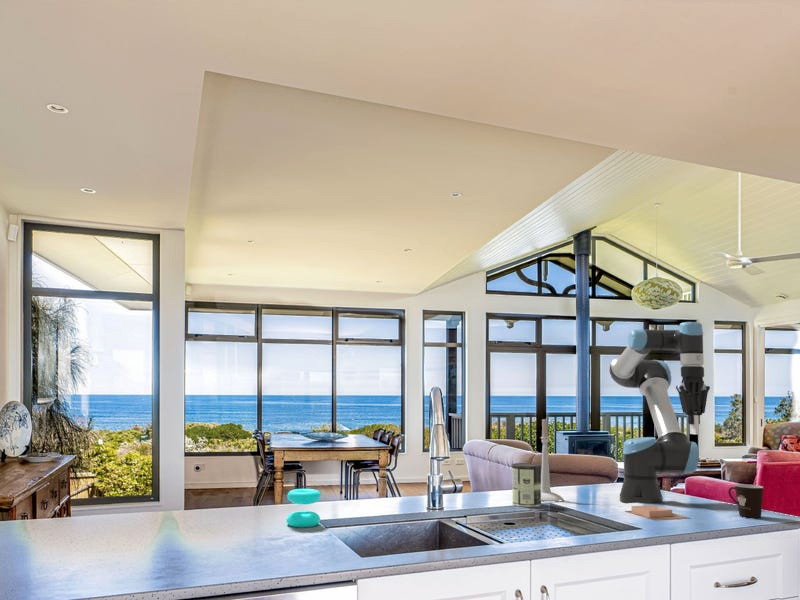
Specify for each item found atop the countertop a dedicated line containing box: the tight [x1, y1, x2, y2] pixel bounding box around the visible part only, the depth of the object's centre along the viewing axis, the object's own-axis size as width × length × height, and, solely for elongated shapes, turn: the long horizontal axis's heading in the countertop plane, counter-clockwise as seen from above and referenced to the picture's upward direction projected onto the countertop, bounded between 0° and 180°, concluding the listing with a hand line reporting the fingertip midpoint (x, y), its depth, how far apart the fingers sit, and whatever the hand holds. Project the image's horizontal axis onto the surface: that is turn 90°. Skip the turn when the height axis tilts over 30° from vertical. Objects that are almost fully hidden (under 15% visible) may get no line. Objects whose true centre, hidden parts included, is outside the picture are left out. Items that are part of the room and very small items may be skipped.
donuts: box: [286, 488, 322, 528], centre depth 207 cm, size 10×10×10 cm
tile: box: [631, 504, 673, 518], centre depth 227 cm, size 9×2×9 cm
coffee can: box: [511, 462, 542, 508], centre depth 246 cm, size 10×10×14 cm
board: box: [623, 510, 692, 522], centre depth 226 cm, size 16×14×1 cm
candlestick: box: [539, 418, 564, 501], centre depth 260 cm, size 13×13×30 cm
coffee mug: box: [728, 483, 764, 520], centre depth 231 cm, size 12×9×10 cm
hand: (694, 434), depth 239 cm, fingers closed
